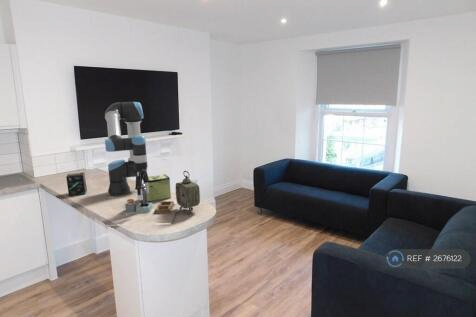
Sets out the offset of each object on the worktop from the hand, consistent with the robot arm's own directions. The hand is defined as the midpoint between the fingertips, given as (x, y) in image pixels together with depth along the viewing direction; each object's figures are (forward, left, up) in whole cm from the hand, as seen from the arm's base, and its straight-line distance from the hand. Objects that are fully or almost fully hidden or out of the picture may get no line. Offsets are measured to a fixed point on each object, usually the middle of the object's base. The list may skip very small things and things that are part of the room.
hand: (143, 196), depth 190 cm
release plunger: (0, -8, -7) cm, 11 cm away
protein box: (-22, +3, -10) cm, 25 cm away
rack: (-1, +12, -10) cm, 15 cm away
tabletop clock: (+1, +27, -10) cm, 29 cm away
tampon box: (-40, -59, -10) cm, 72 cm away
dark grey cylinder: (0, 0, -9) cm, 9 cm away
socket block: (0, -3, -10) cm, 10 cm away
